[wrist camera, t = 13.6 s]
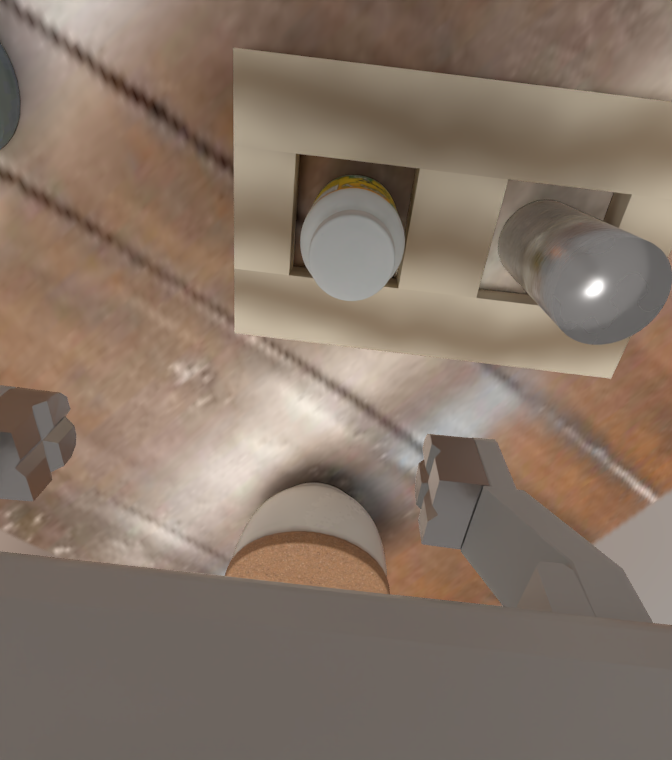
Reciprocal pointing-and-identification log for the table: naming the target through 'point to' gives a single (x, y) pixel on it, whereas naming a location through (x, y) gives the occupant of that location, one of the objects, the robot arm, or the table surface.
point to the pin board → (432, 199)
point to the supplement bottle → (352, 238)
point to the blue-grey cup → (8, 99)
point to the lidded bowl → (312, 542)
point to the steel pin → (585, 271)
